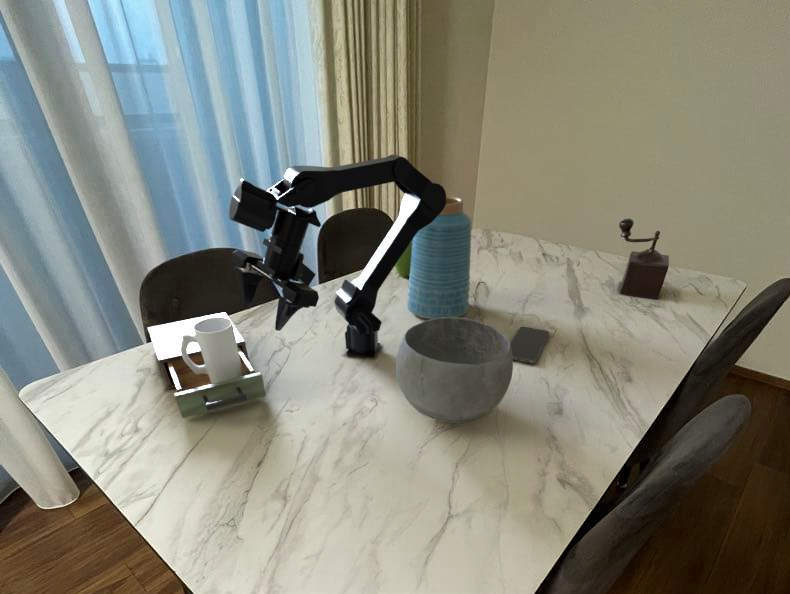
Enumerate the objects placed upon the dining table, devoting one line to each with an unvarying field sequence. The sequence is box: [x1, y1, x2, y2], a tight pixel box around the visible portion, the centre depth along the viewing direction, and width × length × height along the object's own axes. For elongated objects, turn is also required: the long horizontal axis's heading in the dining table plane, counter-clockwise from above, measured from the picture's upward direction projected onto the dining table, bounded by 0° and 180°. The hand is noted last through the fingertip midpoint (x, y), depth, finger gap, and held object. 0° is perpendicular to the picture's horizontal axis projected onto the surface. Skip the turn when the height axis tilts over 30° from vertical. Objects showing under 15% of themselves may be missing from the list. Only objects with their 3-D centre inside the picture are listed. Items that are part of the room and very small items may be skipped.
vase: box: [406, 195, 473, 321], centre depth 117 cm, size 16×16×27 cm
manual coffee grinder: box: [618, 218, 670, 300], centre depth 133 cm, size 16×11×18 cm
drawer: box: [167, 346, 267, 419], centre depth 90 cm, size 20×15×5 cm
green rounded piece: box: [394, 241, 412, 278], centre depth 142 cm, size 9×8×12 cm
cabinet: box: [146, 311, 251, 390], centre depth 101 cm, size 17×17×7 cm
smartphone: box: [510, 325, 550, 364], centre depth 109 cm, size 7×1×16 cm
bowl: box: [395, 317, 514, 424], centre depth 85 cm, size 20×20×15 cm
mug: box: [181, 317, 244, 384], centre depth 89 cm, size 10×7×12 cm, turn 110°
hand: (261, 319), depth 93 cm, fingers open, 9 cm apart
